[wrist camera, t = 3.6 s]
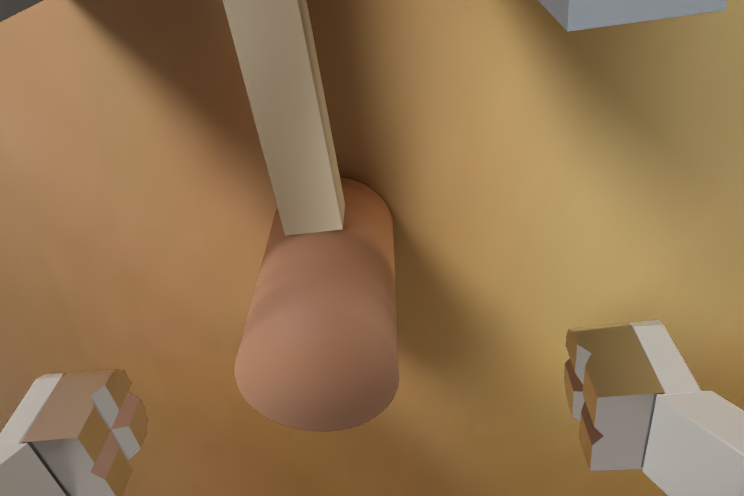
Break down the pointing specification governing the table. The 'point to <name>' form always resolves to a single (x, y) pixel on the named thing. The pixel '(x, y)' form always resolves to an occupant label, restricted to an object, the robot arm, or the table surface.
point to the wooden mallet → (311, 245)
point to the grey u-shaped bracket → (555, 10)
